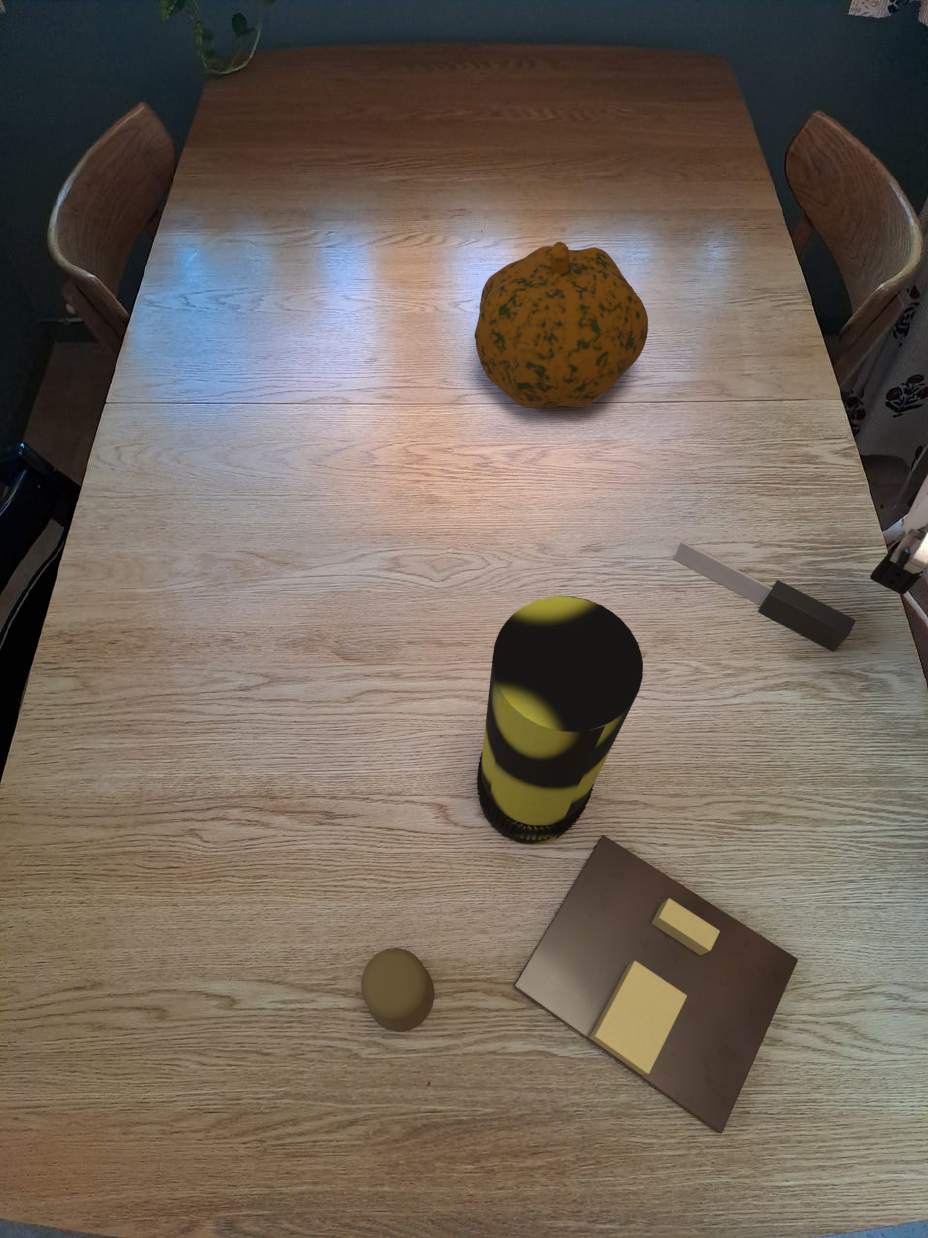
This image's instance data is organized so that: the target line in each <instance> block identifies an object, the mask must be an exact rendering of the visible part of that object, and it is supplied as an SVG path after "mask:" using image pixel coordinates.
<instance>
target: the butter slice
mask: <svg viewBox="0 0 928 1238" xmlns="http://www.w3.org/2000/svg"><path fill="white" fill-rule="evenodd" d="M652 924H653V925H655V926H656V927H658V928H659V929H661V930H662V931H664V932H665V933H667V934H668V935H670V936H671V937H673V938H674V939H676V940H678V941H679V942H681V943H682V944H684V945H685V946H687V947H688V948H690V949H691V950H693V951H694V952H696V953H697V954H699V955H703V954H705V953H707V952H709V951H711V949H712V947H713V945H714V943H715V941H716V939H717V937H718V935H719V933H720V931H719V930H718V929H716V928H715V927H713V926H712V925H710V924H709V923H707V922H706V921H704V920H702V919H701V918H699V917H698V916H696V915H695V914H693V913H692V912H690V911H689V910H687V909H685V908H684V907H682V906H681V905H679V904H678V903H676V902H675V901H673V900H671V899H670V898H669V899H667V900H666V901H665V902H664V903H663V904H661V906H660V908H659V909H658V911H657V913H656V915H655V917H654V919H653V921H652Z"/></svg>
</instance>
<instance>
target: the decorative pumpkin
mask: <svg viewBox="0 0 928 1238" xmlns="http://www.w3.org/2000/svg"><path fill="white" fill-rule="evenodd" d="M648 333H649V317H648V313H647V310H646V307H645V304H644V302H643V301H642V299H641V297H639V294H637V292H636V291H635V290H634V288H633V286H632V285H630V283H629V282H628V280H627V279H626V277H625V275H623V273H622V272H621V270H620V268H619V267H618V265H617V263H616V262H615V260H614V259H613V258H612V257H611V256H610V255H609V253H608V252H607V251H606V250H603V249H602V248H599V247H595V246H594V247H592V246H591V247H588V248H581V249H569V246H568V245H566V243H565V242H562V241H557V242H555V243H554V244H553V246H551V245H545V246H544V245H543V246H541V247H539V248H537V249H535V250H533V251H532V252H530V253H529V254H528V255H526V256H525V257H523V258H520V259H518V260H515V261H513V262H510V263H508V264H506V265H504V266H503V267H502V268H500V269H499V270H497V271H496V272H495V273H493V274H492V275H490V276H489V278H488V279H487V280H486V281H485V284H484V285H483V288H482V290H481V295H480V302H479V314H478V318H477V323H476V327H475V331H474V335H473V337H474V340H475V348H476V352H477V356H478V359H479V362H480V365H481V367H482V370H483V371H484V373H485V375H486V377H487V378H488V380H489V381H490V382H491V383H492V384H494V385H495V386H496V387H497V388H498V389H499V390H500V391H501V392H502V393H503V394H505V396H507V397H508V398H509V399H510V400H512V401H513V402H514V403H516V404H517V405H519V406H521V407H525V408H526V407H527V408H557V407H560V406H564V407H566V406H568V407H575V408H577V407H578V408H583V407H584V408H585V407H588V406H590V405H591V404H592V403H594V402H595V401H596V400H598V399H599V398H601V397H602V396H603V395H605V394H606V393H607V392H608V391H609V390H610V389H611V388H612V387H613V386H614V385H615V384H616V383H617V382H618V381H619V379H620V378H621V377H622V376H623V375H624V374H625V373H626V372H627V371H628V370H629V369H630V368H631V367H632V366H633V365H634V364H635V363H636V361H638V359H639V357H640V356H641V354H642V352H643V350H644V348H645V345H646V341H647V339H648Z"/></svg>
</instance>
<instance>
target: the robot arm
mask: <svg viewBox="0 0 928 1238" xmlns="http://www.w3.org/2000/svg"><path fill="white" fill-rule="evenodd" d="M906 504H907V506H908V507H909V508H910V509H909V510H908V513H907V516H906V518H905V520H904V521H903V525H902V528H903V532H904V533H905V534H904V536H903V538H902V539H901V541H900V542H899V544H898V546H897V547H896V548H895V549H890V550H889V552H887V553H886V555H885V556H884V557H883V558H882V560H881V561H880V562H879V563H878V564H877V566H876V567H875V568H874V569H873V571H872V572H871V574H870V576H869V578H870V580H872V581H873V582H875V583H877V584H879V585H881V586H883V587H885V588H887V589H889V590H891V591H893V592H895V593H897V594H899V595H906V593H908V592H909V590H910V589H911V588H913V586H914V585H915V584H916V583H917V582H918V581H919V579H920V578H922V576H923V575H924V574H925V573H926V572H927V571H928V528H927V529H926V531H922V530H921V529H923V528H924V527H927V525H928V474H927V475H926V477H925V478H924V480H923V481H922V482H921V484H920V485H918V487H917V489H916V490H915V491H914V492H913V494H912V495H911V496H910V497H909V498H908V501H907V503H906ZM913 539H917V540H919V542H918V544H917V545H916V547H915V549H914V550H913V551H912V552H911V553H910V552H908V551H906V549H907V548H908V547H909V545H910V544H911V542H912V541H913Z"/></svg>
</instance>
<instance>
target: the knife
mask: <svg viewBox="0 0 928 1238" xmlns="http://www.w3.org/2000/svg"><path fill="white" fill-rule="evenodd" d="M673 560H674V561H675V562H678V563H679V564H682V565H683V566H685V567H687V568H689V569H691V570H692V571H694V572H696V573H698V574H700V575H702V576H703V577H706V578H708V579H709V580H712V581H713V582H715V583H717V584H719V585H721V586H723V587H724V588H726V589H729V590H730V591H732V592H734V593H736V594H738V595H740V596H741V597H744V598H746V599H747V600H750V601H751V602H753V603H755V604H757V605H759V606H760V607H759V609H758V610H757V613H759V614H761V615H764V616H765V617H766V618H768V619H771V620H773V621H774V622H776V623H778V624H780V625H782V626H784V627H786V628H788V629H790V630H791V631H793V632H795V633H797V634H799V635H801V636H803V637H804V638H807V639H808V640H810V641H812V642H814V643H816V644H818V645H819V646H821V647H822V648H823V647H824V648H825V649H827V650H829V651H831V652H833V653H834V652H835V651H837V649H838V648H839V647H840V646H841V645H842V643H843V642H844V641H845V640H846V639H847V638H848V637H849V636H850V634H851V631H852V629H853V628H854V626H855V624H856V622H857V619H855V618H852V617H850V616H849V615H847V614H845V613H843V612H841V611H839V610H837V609H835V608H833V607H831V606H829V605H828V604H826V603H823V602H822V601H820V600H818V599H816V598H814V597H812V596H810V595H808V594H806V593H804V592H802V591H800V590H798V589H796V587H795V588H794V587H793V586H791V585H789V584H787V583H786V582H783V581H781V580H779V579H777V580H776V581H775V583H774V584H773V586H772V587H771V586H769V585H768V584H765V583H764V582H762V581H761V580H758V579H756V578H754V577H752V576H750V575H748V574H747V573H745V572H743V571H740V570H739V569H738V568H735V567H733V566H731V565H730V564H727V563H726V562H723V561H722V560H719V559H717V558H715V556H712V555H710V554H708V553H706V552H704V551H702V550H701V549H698V548H696V547H694V546H692V545H691V544H689V543H687V542H685V541H683V540H681V541H680V543H679V545H678V548H677V550H676V552H675V555H674V557H673Z"/></svg>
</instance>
